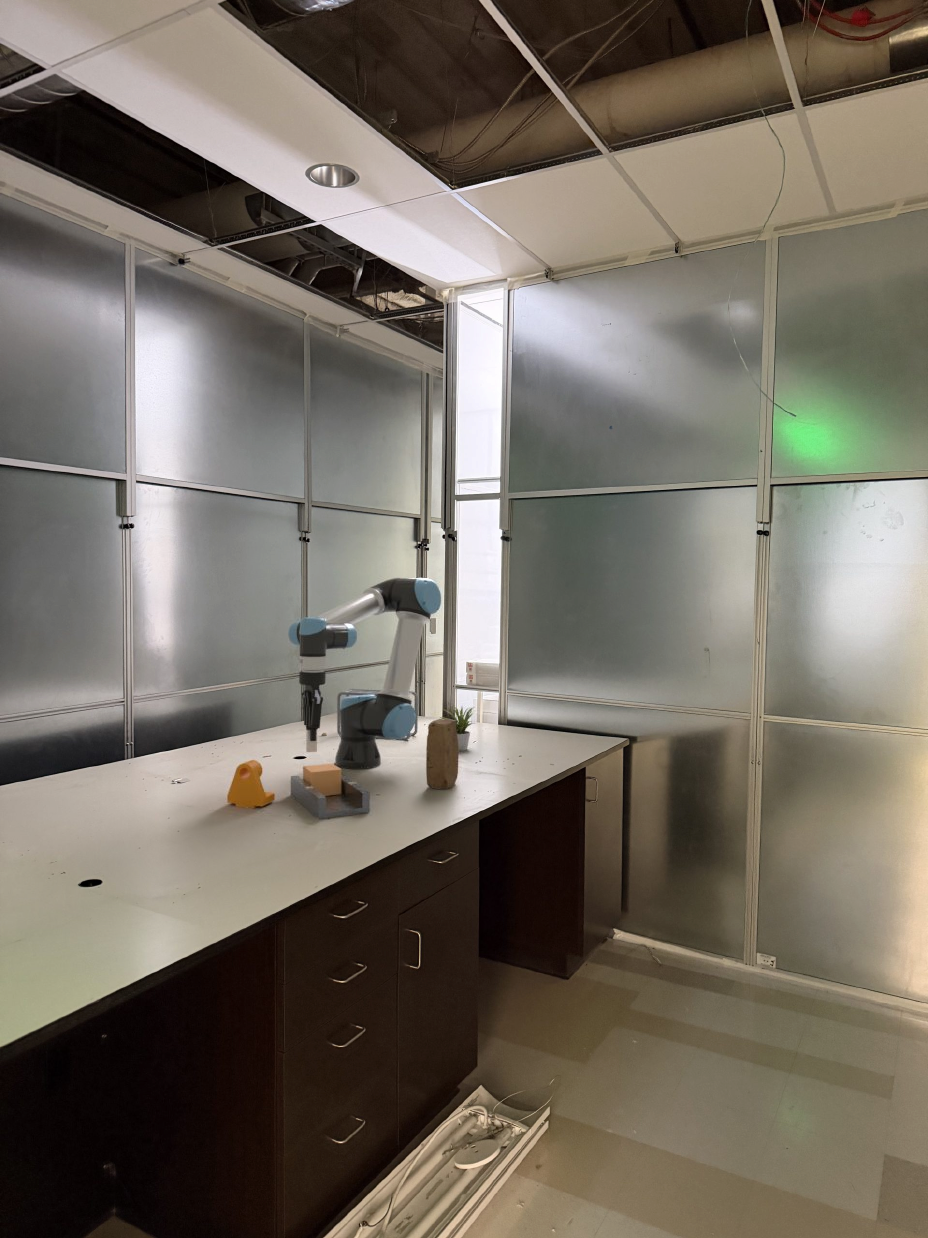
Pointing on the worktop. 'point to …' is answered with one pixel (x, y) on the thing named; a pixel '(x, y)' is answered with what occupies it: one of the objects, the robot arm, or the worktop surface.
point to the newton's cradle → (347, 693)
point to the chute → (331, 798)
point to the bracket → (249, 787)
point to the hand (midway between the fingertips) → (311, 751)
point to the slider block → (323, 778)
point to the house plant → (462, 727)
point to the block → (442, 754)
